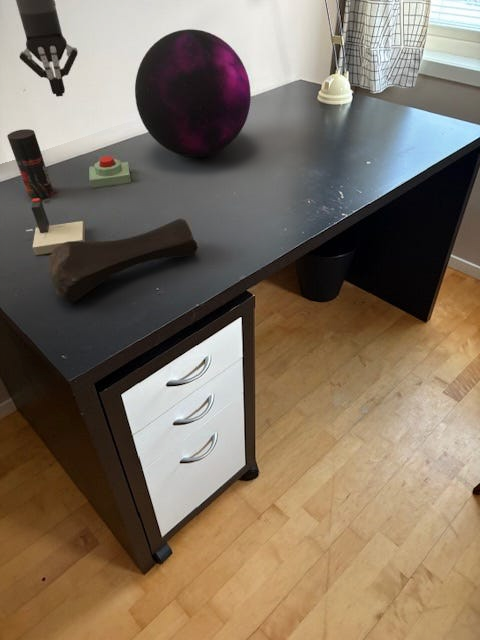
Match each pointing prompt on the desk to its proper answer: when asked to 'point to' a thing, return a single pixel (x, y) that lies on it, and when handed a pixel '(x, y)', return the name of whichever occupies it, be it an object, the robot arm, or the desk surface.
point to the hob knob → (40, 215)
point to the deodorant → (31, 163)
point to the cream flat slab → (57, 236)
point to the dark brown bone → (114, 257)
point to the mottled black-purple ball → (192, 93)
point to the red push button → (107, 161)
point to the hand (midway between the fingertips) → (59, 95)
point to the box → (109, 174)
